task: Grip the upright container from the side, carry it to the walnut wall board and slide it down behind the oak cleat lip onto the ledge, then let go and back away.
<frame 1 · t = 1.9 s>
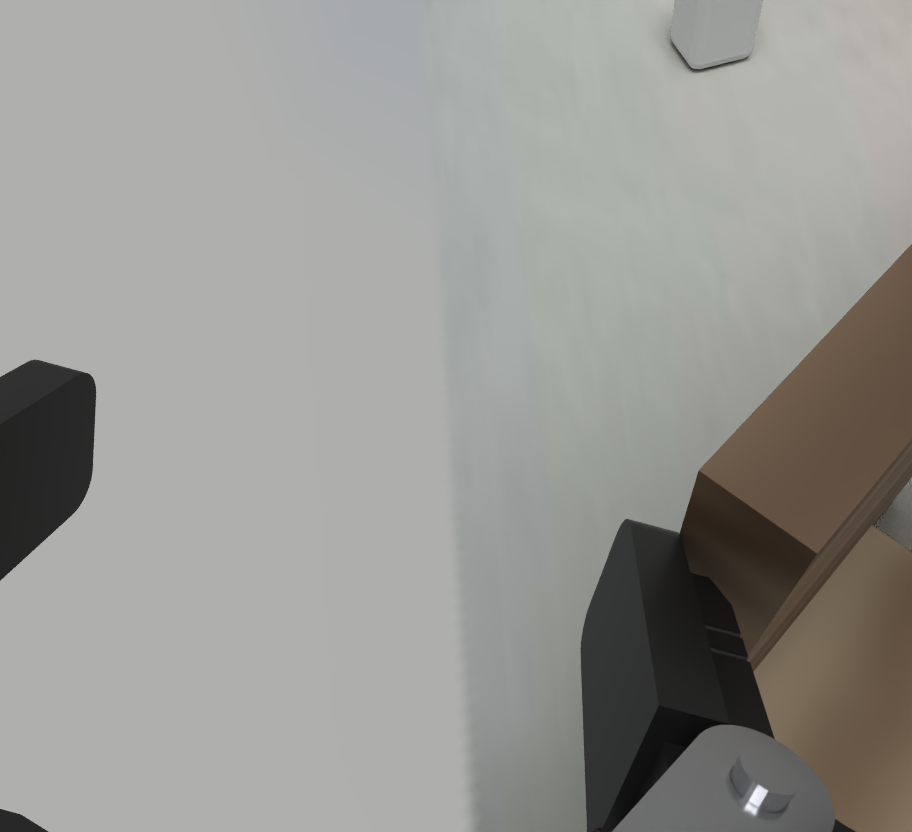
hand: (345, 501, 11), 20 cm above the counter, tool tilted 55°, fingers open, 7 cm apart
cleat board: (833, 757, 27), on the counter
pepper shaker: (708, 53, 49), on the counter
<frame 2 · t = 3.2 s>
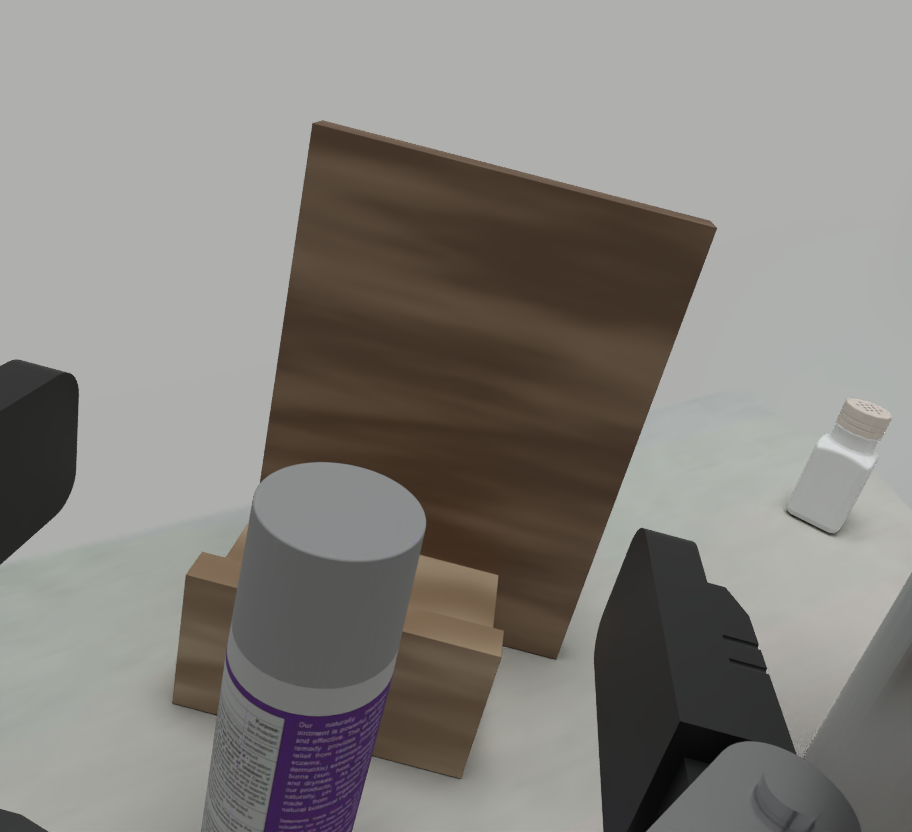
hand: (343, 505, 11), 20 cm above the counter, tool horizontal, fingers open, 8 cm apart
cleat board: (345, 656, 37), on the counter
pepper shaker: (813, 519, 61), on the counter
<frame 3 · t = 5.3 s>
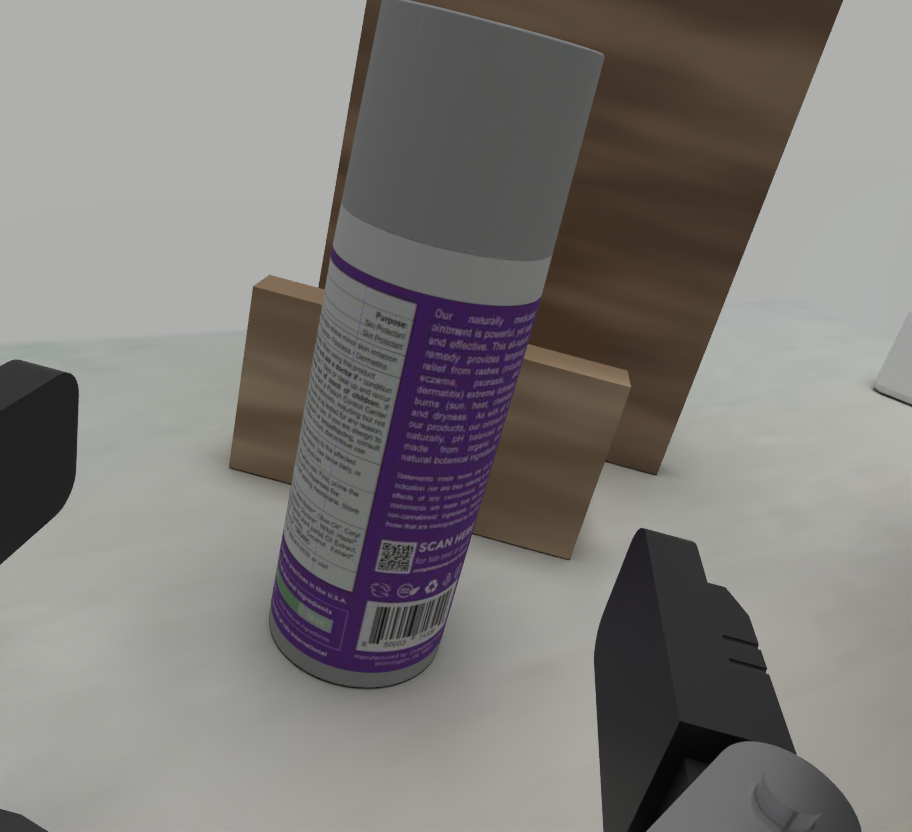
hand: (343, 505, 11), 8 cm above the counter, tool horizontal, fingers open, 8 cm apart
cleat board: (422, 449, 32), on the counter
container: (354, 629, 22), on the counter
pepper shaker: (902, 399, 56), on the counter
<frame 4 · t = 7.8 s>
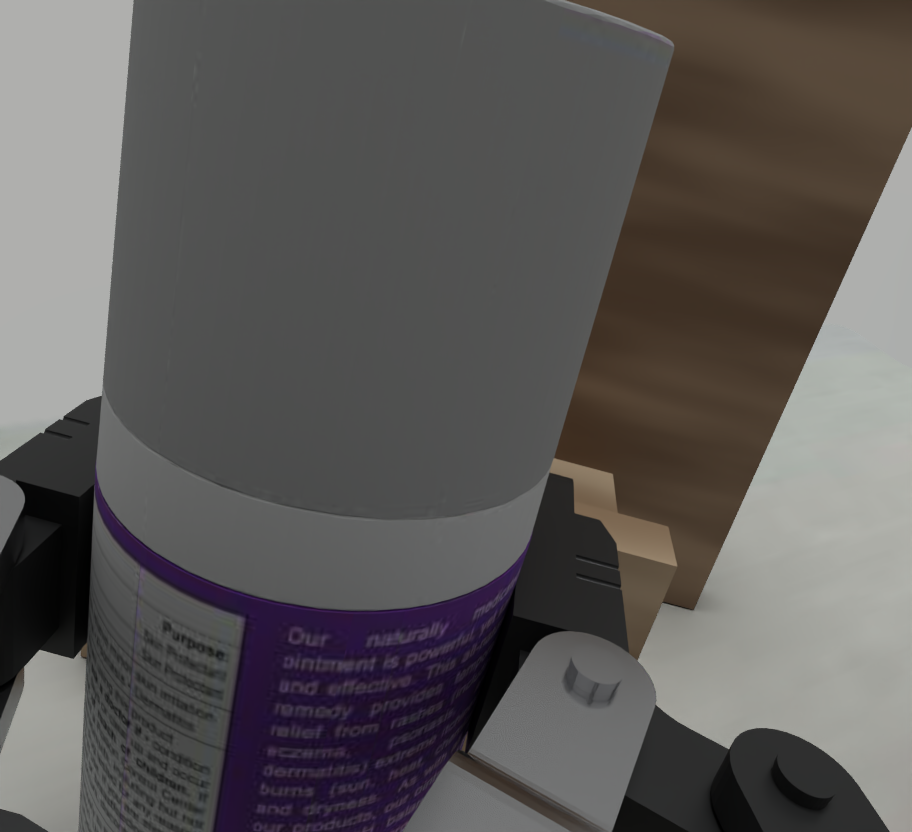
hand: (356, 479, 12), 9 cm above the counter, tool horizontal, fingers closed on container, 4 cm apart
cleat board: (375, 594, 23), on the counter
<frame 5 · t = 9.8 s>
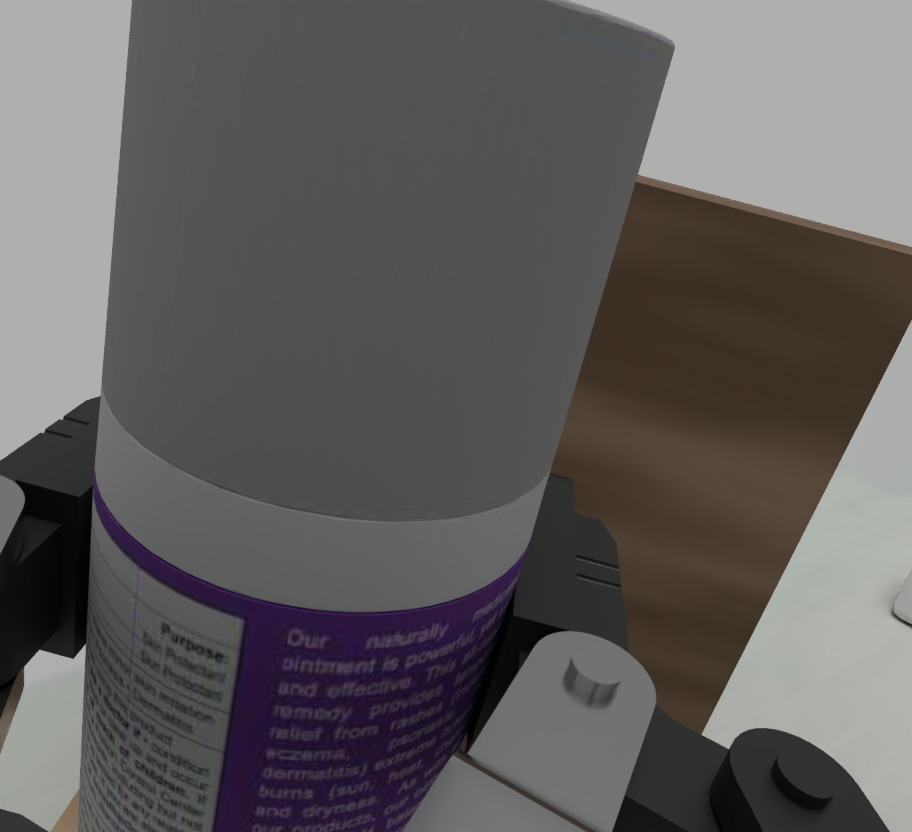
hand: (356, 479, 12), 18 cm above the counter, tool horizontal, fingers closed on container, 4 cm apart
when the fingers open (14 cm above the counter, at t = 12.1 s): container drops 1 cm, resting on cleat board.
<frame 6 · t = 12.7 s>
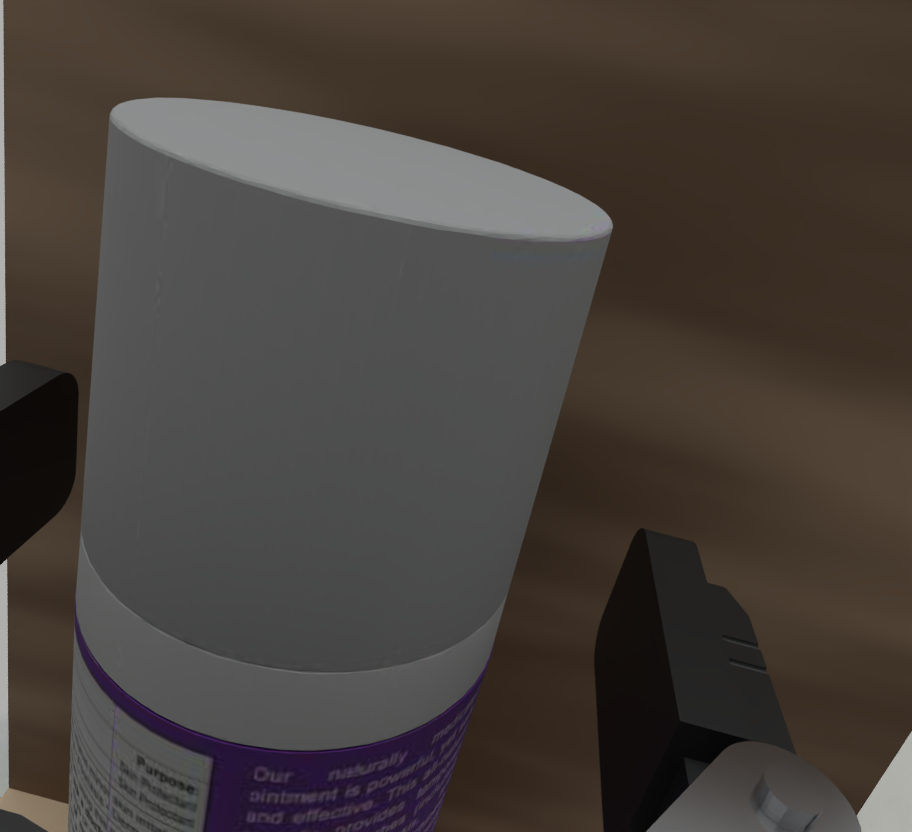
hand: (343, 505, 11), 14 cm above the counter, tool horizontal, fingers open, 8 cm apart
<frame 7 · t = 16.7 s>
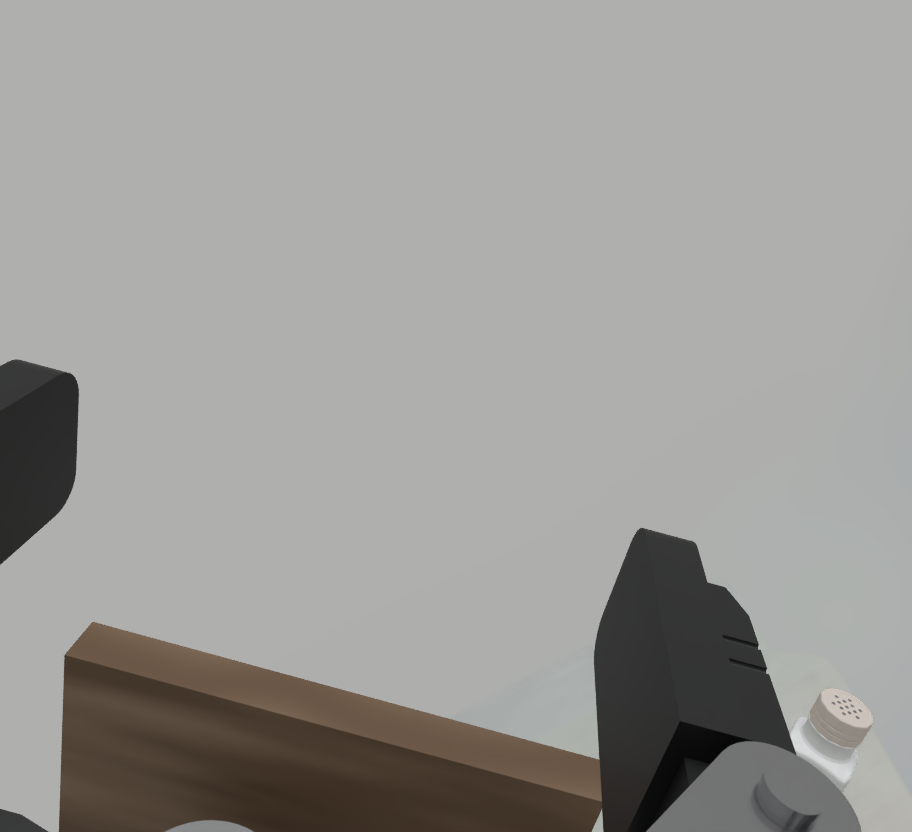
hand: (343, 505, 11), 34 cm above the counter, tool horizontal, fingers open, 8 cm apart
pepper shaker: (783, 813, 53), on the counter
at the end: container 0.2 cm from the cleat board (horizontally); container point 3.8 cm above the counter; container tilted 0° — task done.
